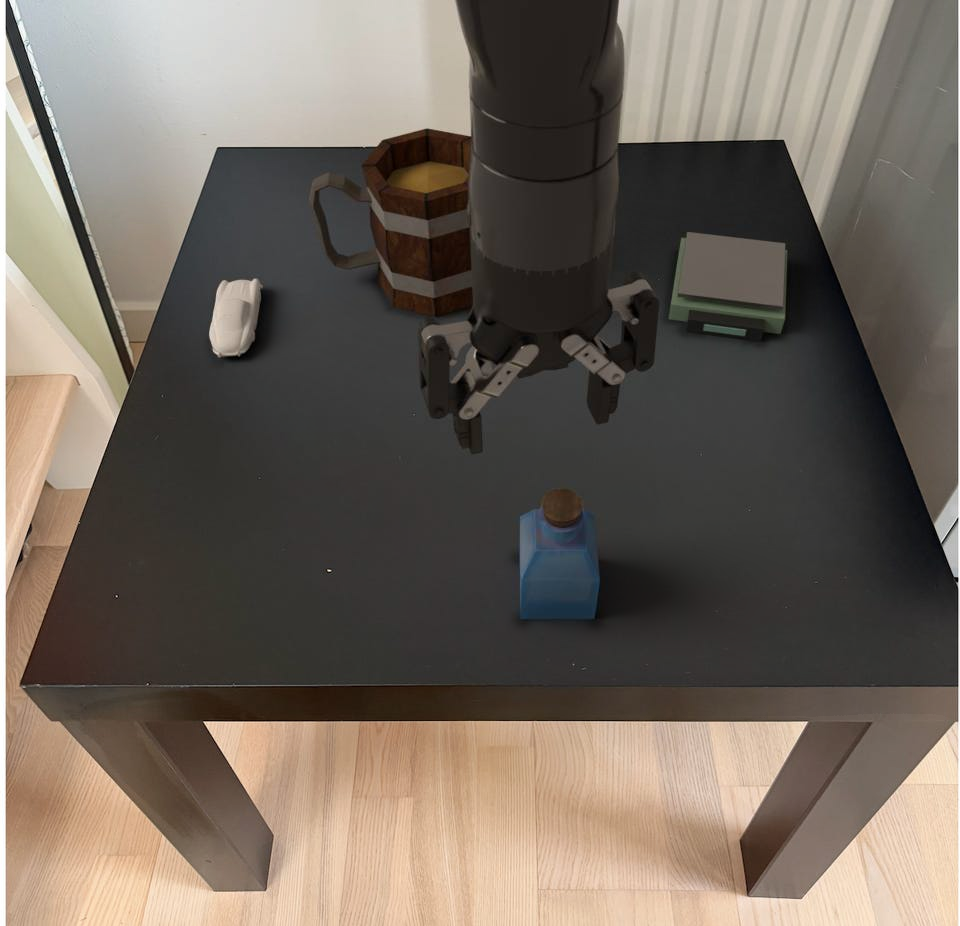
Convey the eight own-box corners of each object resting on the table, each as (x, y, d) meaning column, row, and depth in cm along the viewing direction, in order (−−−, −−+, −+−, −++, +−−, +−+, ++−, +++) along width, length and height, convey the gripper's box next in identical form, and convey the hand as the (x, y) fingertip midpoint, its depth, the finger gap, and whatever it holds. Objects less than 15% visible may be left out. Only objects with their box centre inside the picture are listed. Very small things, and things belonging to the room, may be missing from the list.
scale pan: (783, 251, 103) (785, 243, 102) (780, 314, 96) (783, 306, 96) (685, 240, 105) (687, 231, 104) (676, 301, 98) (677, 292, 97)
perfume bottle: (594, 619, 76) (605, 537, 67) (520, 619, 77) (522, 538, 67) (589, 557, 80) (599, 472, 71) (519, 557, 80) (520, 473, 71)
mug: (491, 240, 110) (489, 125, 98) (496, 314, 101) (494, 198, 90) (329, 246, 110) (308, 133, 98) (320, 321, 101) (295, 206, 90)
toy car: (265, 288, 105) (258, 264, 102) (254, 361, 97) (246, 337, 95) (223, 291, 105) (215, 267, 102) (209, 363, 97) (200, 339, 95)
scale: (783, 265, 105) (787, 249, 103) (780, 345, 97) (784, 330, 95) (678, 252, 107) (681, 237, 105) (666, 330, 99) (669, 314, 97)
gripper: (426, 293, 43) (445, 499, 56) (700, 235, 45) (660, 445, 58) (391, 205, 48) (416, 413, 60) (642, 156, 50) (616, 367, 63)
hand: (536, 429), depth 59 cm, fingers open, 8 cm apart
